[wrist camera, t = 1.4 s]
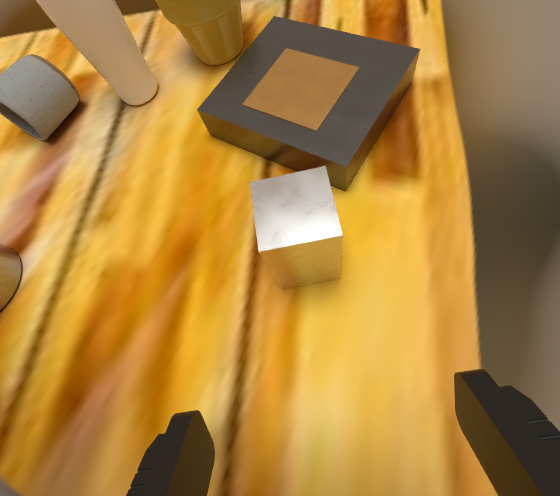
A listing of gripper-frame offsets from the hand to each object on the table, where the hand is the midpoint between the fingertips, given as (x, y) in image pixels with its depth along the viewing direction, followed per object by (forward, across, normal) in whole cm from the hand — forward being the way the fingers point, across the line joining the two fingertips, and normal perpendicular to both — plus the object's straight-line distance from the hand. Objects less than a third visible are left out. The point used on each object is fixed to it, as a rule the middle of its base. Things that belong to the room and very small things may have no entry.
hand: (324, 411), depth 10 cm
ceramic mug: (+40, +32, -17) cm, 54 cm away
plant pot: (+43, +7, -20) cm, 48 cm away
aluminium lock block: (+20, 0, +3) cm, 20 cm away
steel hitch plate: (+33, -3, -9) cm, 34 cm away
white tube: (+40, +18, -17) cm, 47 cm away
